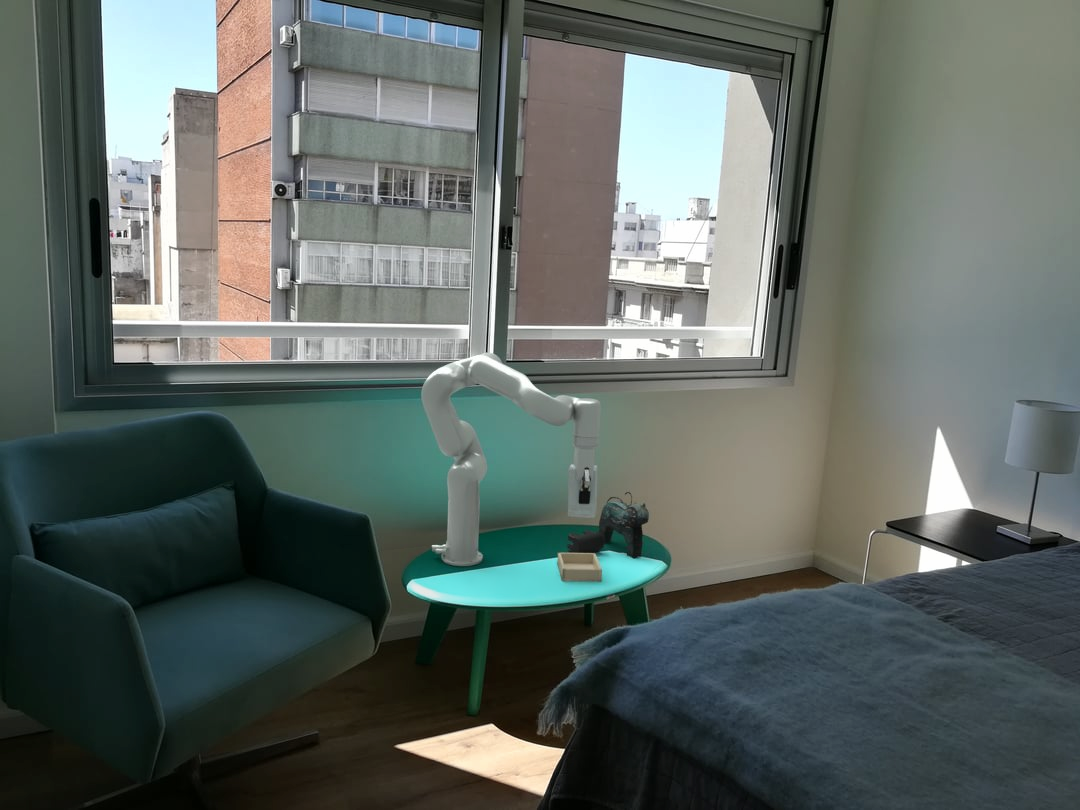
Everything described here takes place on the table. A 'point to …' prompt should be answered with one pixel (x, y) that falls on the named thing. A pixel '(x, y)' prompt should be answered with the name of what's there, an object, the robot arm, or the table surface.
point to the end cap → (585, 542)
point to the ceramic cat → (624, 523)
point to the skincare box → (573, 496)
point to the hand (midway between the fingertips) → (582, 499)
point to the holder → (579, 567)
